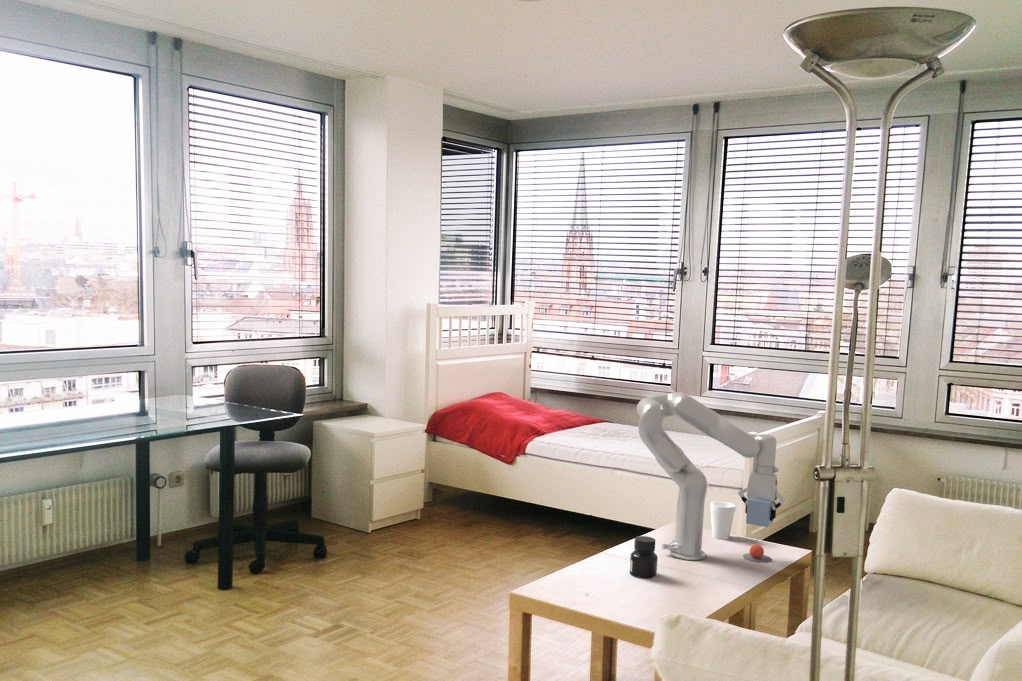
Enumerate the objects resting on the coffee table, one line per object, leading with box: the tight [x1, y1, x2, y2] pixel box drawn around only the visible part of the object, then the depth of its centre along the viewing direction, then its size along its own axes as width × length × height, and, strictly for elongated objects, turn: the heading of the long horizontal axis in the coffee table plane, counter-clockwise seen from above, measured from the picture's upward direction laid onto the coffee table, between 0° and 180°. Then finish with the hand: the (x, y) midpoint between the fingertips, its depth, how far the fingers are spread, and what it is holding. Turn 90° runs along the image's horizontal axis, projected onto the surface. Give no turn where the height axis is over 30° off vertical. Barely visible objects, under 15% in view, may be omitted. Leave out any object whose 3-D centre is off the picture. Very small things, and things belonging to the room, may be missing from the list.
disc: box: [742, 552, 773, 564], centre depth 306 cm, size 10×10×1 cm
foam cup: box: [709, 500, 736, 540], centre depth 331 cm, size 10×9×13 cm
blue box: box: [745, 498, 774, 528], centre depth 305 cm, size 8×8×9 cm
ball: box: [749, 543, 765, 559], centre depth 306 cm, size 5×5×5 cm
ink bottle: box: [629, 535, 658, 579], centre depth 282 cm, size 10×9×12 cm
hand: (760, 517), depth 305 cm, fingers closed on blue box, 7 cm apart
